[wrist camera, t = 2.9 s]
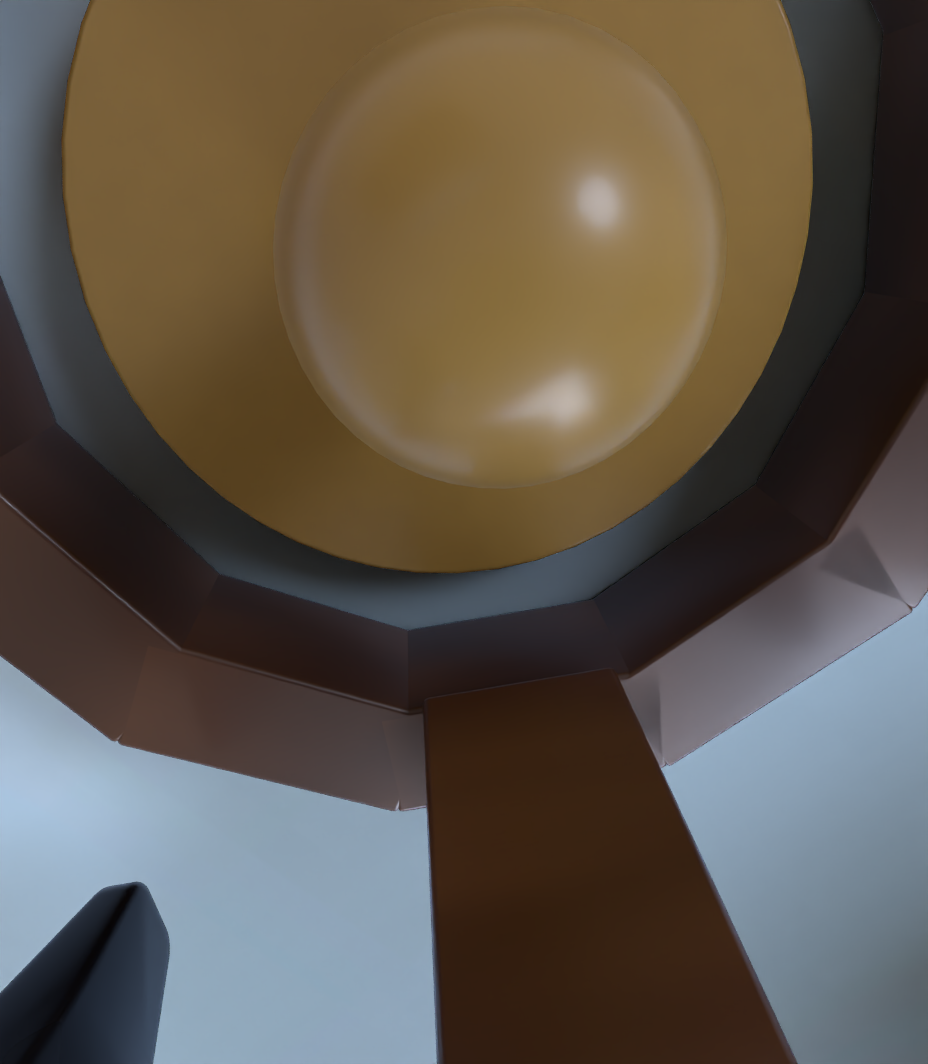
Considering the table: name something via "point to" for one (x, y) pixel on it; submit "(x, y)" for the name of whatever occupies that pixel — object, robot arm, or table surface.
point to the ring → (524, 674)
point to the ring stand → (438, 253)
